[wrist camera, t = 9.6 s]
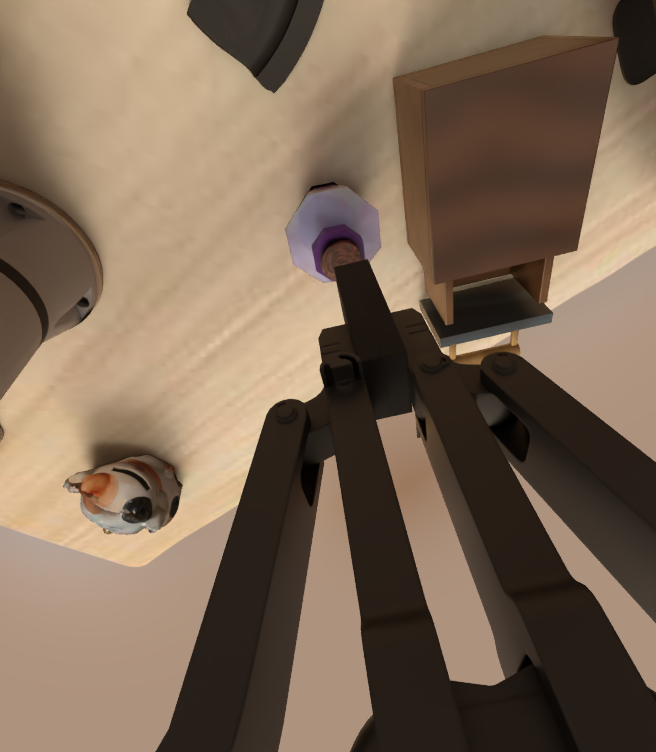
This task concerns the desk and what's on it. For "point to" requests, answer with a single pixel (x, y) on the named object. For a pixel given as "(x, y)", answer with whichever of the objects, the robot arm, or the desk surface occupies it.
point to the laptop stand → (636, 39)
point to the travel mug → (1, 434)
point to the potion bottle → (332, 231)
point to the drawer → (488, 308)
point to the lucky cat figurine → (128, 494)
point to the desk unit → (501, 152)
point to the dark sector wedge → (259, 32)
